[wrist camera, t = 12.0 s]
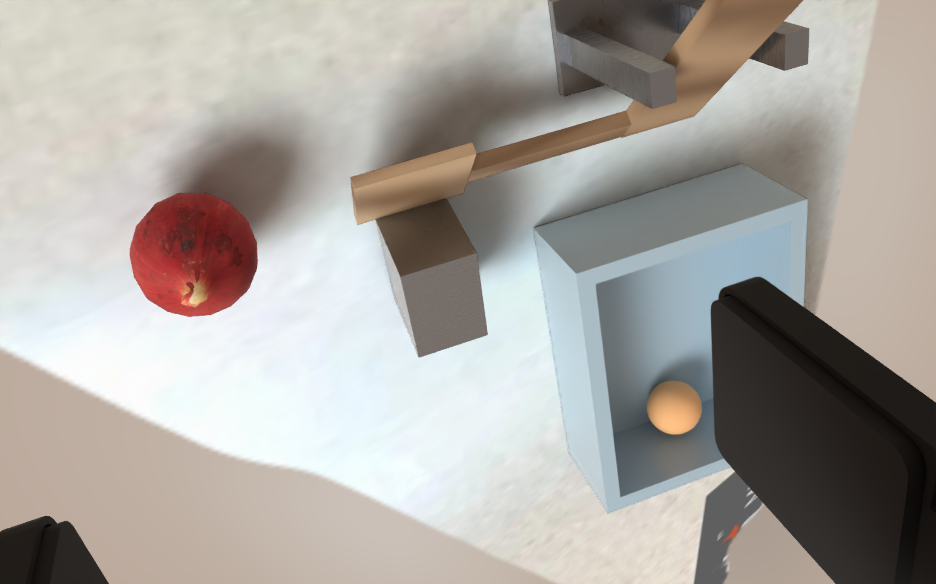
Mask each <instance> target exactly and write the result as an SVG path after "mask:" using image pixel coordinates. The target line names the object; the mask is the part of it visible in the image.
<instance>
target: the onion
mask: <svg viewBox="0 0 936 584" xmlns="http://www.w3.org/2000/svg"><path fill="white" fill-rule="evenodd" d="M130 259H131V264H132V269H133V274H134V278H135V279H136V281H137V283H138V284H139V286H140V288H141V290H142V291H143V293H144V295H145V296H146V298H147V299H148V300H149V301H151V302H153V303H154V304H156V305H158V306H159V307H161V308H163V309H164V310H166V311H167V312H171V313H175V314H180V315H184V316H188V317H192V316H205V315H212V314H214V313H216V312H219V311H221V310H223V309H226V308H228V307H230V306H232V305H233V304H234V303H235V302H236V301H237V300H238V299H239V298H240V297H241V296H242V295H244V294H245V293H246V292H247V290H248V289H249V287H250V285H251V282H252V280H253V277H254V275H255V272H256V270H257V263H258V259H257V242H256V239H255V237H254V235H253V232H252V230H251V228H250V226H249V223H248V222H247V220H246V219H245V217H243V216H242V215H241V214H240V213H239V212H238V211H237V210H236V209H235V208H234V207H233V206H232V205H231V204H230V203H229V202H226V201H224V200H221V199H219V198H217V197H214V196H212V195H209V194H207V193H178V194H176V195H173V196H171V197H169V198H167V199H165V200H162V201H160V202H158V203H156V204H155V205H154V206H153V207H152V208H151V210H150V211H149V212H148V213H147V214H146V216H145V217H144V218H143V219H142V220H141V221H140V223H139V224H138V225H137V226H136V229H135V233H134V236H133V240H132V243H131V247H130Z"/></svg>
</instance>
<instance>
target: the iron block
mask: <svg viewBox="0 0 936 584" xmlns="http://www.w3.org/2000/svg"><path fill="white" fill-rule="evenodd" d="M375 220H376V224H377V228H378V232H379V236H380V241H381V245H382V249H383V253H384V257H385V261H386V265H387V270H388V274H389V278H390V282H391V286H392V290H393V294H394V299H395V301H396V304H397V306H398V309H399V311H400V313H401V316H402V318H403V321H404V323H405V326H406V328H407V331H408V333H409V335H410V338H411V340H412V343H413V345H414V348H415V350H416V353H417V355H418V357H422V356H425V355H428V354H431V353H434V352H437V351H440V350H443V349H447V348H450V347H453V346H456V345H459V344H462V343H465V342H468V341H471V340H474V339H477V338H480V337H483V336H486V335H488V333H487V326H486V318H485V311H484V303H483V296H482V289H481V281H480V274H479V266H478V259H477V253H476V251H475V249H474V247H473V246H472V244H471V242H470V240H469V238H468V237H467V235H466V233H465V231H464V229H463V228H462V226H461V224H460V222H459V220H458V219H457V217H456V215H455V213H454V211H453V210H452V208H451V206H450V204H449V202H448V201H447V199H446V198H445V199H441V200H438V201H435V202H431V203H428V204H425V205H421V206H418V207H414V208H411V209H408V210H404V211H401V212H398V213H394V214H391V215H388V216H384V217H381V218H377V219H375Z"/></svg>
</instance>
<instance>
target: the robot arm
mask: <svg viewBox="0 0 936 584" xmlns="http://www.w3.org/2000/svg"><path fill="white" fill-rule="evenodd" d="M711 341H712V372H713V403H714V433H715V441H716V444H717V447H718V449H719V452H720V453H721V455H722V457H723V458H724V459H725V461H726V462H727V463H728V464H729V465H730V466H731V467H732V468H733V470H734V471H735V472H736V473H737V474H738V475H739V476H740V477H741V479H742V480H743V481H744V482H745V483H746V484H747V485H748V486H749V487H750V489H751V490H752V491H753V492H754V493H755V494H756V495H757V496H758V498H759V499H760V500H761V501H762V502H763V503H764V504H765V505H766V506H767V508H768V509H769V510H770V511H771V512H772V513H773V514H774V515H775V516H776V518H777V519H778V520H779V521H780V522H781V523H782V524H783V525H784V527H785V528H786V529H787V530H788V531H789V532H790V533H791V534H792V536H793V537H794V538H795V539H796V540H797V541H798V542H799V543H800V544H801V546H802V547H803V548H804V549H805V550H806V551H807V552H808V553H809V554H810V555H811V557H812V558H813V559H814V560H815V561H816V562H817V563H818V565H819V566H820V567H821V568H822V569H823V570H824V571H825V572H826V574H827V575H828V576H829V577H830V578H831V579H832V580H833V581H834V582H835V584H936V402H934V401H933V400H931V399H930V398H929V397H927V396H926V395H924V394H923V393H922V392H920V391H919V390H918V389H916V388H915V387H914V386H912V385H911V384H909V383H908V382H907V381H905V380H904V379H902V378H901V377H900V376H898V375H897V374H895V373H894V372H893V371H891V370H890V369H889V368H887V367H886V366H884V365H883V364H882V363H880V362H879V361H878V360H876V359H875V358H873V357H872V356H871V355H869V354H868V353H867V352H865V351H864V350H862V349H861V348H860V347H858V346H857V345H855V344H854V343H853V342H851V341H850V340H848V339H847V338H846V337H844V336H843V335H842V334H840V333H839V332H838V331H836V330H835V329H833V328H832V327H831V326H829V325H828V324H827V323H825V322H824V321H822V320H821V319H819V318H818V317H817V316H815V315H814V314H813V313H811V312H810V311H809V310H807V309H806V308H804V307H803V306H802V305H800V304H799V303H798V302H796V301H795V300H793V299H792V298H791V297H789V296H788V295H787V294H785V293H784V292H782V291H781V290H780V289H778V288H777V287H775V286H774V285H773V284H771V283H770V282H769V281H767V280H766V279H764V278H762V277H753V278H750V279H747V280H744V281H741V282H738V283H735V284H732V285H729V286H726V287H724V288H722V289H721V290H720V293H719V296H718V300H715V301H714V302H712V304H711ZM0 584H109V583H108V582H107V580H106V579H105V577H104V575H103V574H102V572H101V570H100V569H99V567H98V565H97V564H96V562H95V561H94V559H93V557H92V556H91V554H90V553H89V551H88V549H87V548H86V546H85V545H84V543H83V541H82V539H81V538H80V536H79V535H78V533H77V531H76V530H75V528H74V527H73V525H72V524H71V523H70V522H68V521H64V522H61V523H58V524H57V523H56V521H55V520H54V519H53V518H51V517H50V516H44V517H40V518H38V519H35V520H31V521H28V522H26V523H23V524H20V525H17V526H14V527H11V528H8V529H5V530H2V531H1V532H0Z"/></svg>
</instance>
